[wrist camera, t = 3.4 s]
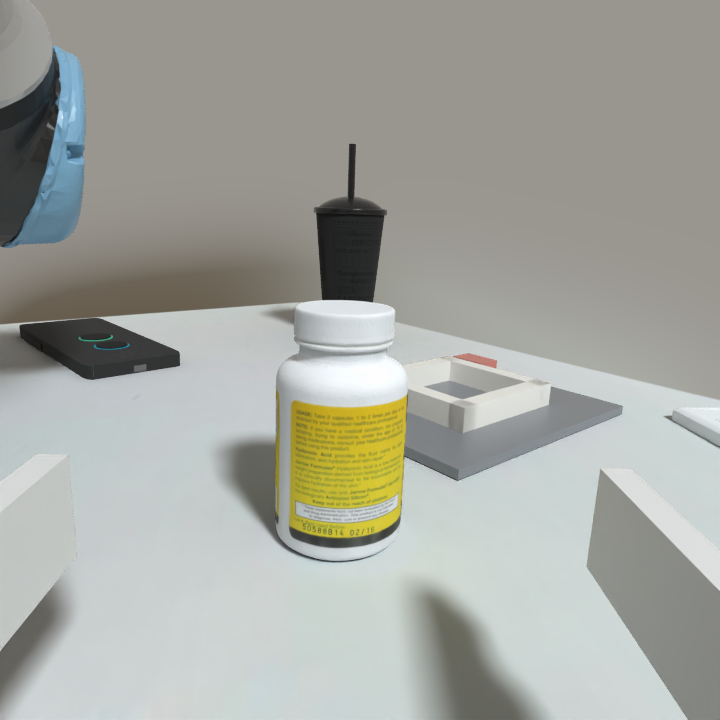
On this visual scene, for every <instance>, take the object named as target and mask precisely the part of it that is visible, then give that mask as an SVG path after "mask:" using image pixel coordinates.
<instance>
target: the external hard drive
mask: <svg viewBox="0 0 720 720" xmlns="http://www.w3.org/2000/svg"><path fill="white" fill-rule="evenodd" d="M672 420H673V421H675V422H677V423H678V424H680V425H682V426H684V427H685V428H687V429H689V430H691V431H692V432H694V433H696V434H698V435H700V436H701V437H703V438H705V439H707V440H709V441H710V442H712V443H714V444H716V445H717V446H719V447H720V407H681V408H677V409H674V410H673V415H672Z"/></svg>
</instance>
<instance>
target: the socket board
mask: <svg viewBox="0 0 720 720" xmlns="http://www.w3.org/2000/svg"><path fill="white" fill-rule="evenodd" d="M496 364H497V360H493V359H489V358H485V357H481V356H477V355H473V354H469V353H468V354H463V355H458V356H453V357H451V356H447V357H441V358H436V359H431V360H426V361H421V362H416V363H411V364H406V365H401V366H402V367H403V368H404V370H405V372H406V374H407V378H408V406H407V419H406V435H405V454H404V456H406V457H408V458H410V459H413V460H415V461H417V462H419V463H421V464H423V465H426V466H428V467H430V468H432V469H434V470H436V471H439V472H441V473H443V474H445V475H447V476H449V477H452V478H454V479H456V480H460V479H463V478H465V477H468V476H470V475H473V474H475V473H477V472H480V471H482V470H485V469H487V468H490V467H492V466H495V465H497V464H500V463H502V462H505V461H507V460H509V459H512V458H514V457H517V456H519V455H522V454H524V453H527V452H529V451H532V450H534V449H537V448H539V447H541V446H544V445H546V444H549V443H551V442H554V441H556V440H559V439H561V438H564V437H566V436H569V435H571V434H573V433H576V432H578V431H581V430H583V429H586V428H588V427H591V426H593V425H596V424H598V423H601V422H603V421H606V420H608V419H610V418H613V417H615V416H618V415H620V414H622V408H623V406H621V405H617V404H614V403H610V402H606V401H603V400H599V399H595V398H592V397H588V396H584V395H580V394H577V393H573V392H569V391H566V390H562V389H558V388H555V387H551V383H549V382H545V381H541V380H537V379H534V378H530V377H526V376H522V375H519V374H515V373H511V372H507V371H504V370H500V369H496Z"/></svg>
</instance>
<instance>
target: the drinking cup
mask: <svg viewBox="0 0 720 720" xmlns="http://www.w3.org/2000/svg"><path fill="white" fill-rule="evenodd" d="M355 156H356V144H349V170H348V197H340V198H335V199H332V200H329V201H327V202H325V203H323V204H322V205H320V206H319V207H315V208H314V213H316V215H317V229H318V245H319V259H320V274H321V289H322V300H352V301H364V302H372V303H373V297H374V290H375V283H376V275H377V268H378V260H379V252H380V245H381V237H382V230H383V222H384V215H387V210H385V209H382V208H381V207H380V206H378V205H377V204H375V203H373V202H371V201H369V200H366V199H363V198H359V197H354V188H355V186H354V185H355Z"/></svg>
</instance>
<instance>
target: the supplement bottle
mask: <svg viewBox="0 0 720 720" xmlns="http://www.w3.org/2000/svg"><path fill="white" fill-rule="evenodd" d="M394 326H395V310H394V309H393V308H392V307H390V306H387V305H384V304H378V303H372V302H364V301H352V300H321V301H311V302H305V303H301V304H298V305H296V306H295V314H294V335H295V337H294V340H295V342H296V343H297V344H299V345H300V351H299V354H296V355H293V356H291V357H289V358H288V359H287V360H285V361H284V362H283V363H282V365H281V366H280V368H279V370H278V372H277V377H276V473H275V522H276V530H277V533H278V535H279V537H280V538H281V540H282V541H283V542H284V543H285V544H286V545H287V546H289V547H290V548H292V549H293V550H295V551H297V552H299V553H301V554H304V555H307V556H310V557H313V558H317V559H322V560H329V561H346V560H355V559H360V558H364V557H368V556H371V555H374V554H376V553H378V552H380V551H382V550H383V549H385V548H386V547H388V546H389V545H390V544H391V543H392V542H393V541H394V540H395V538H396V537H397V535H398V532H399V528H400V519H401V505H402V488H403V470H404V454H405V435H406V419H407V406H408V378H407V374H406V372H405V370H404V368H403V367H402V366H401V365H400V363H398V362H397V361H396V360H394V359H392V358H390V357H388V355H387V348H388V347H390V346H392V344H393V340H392V339H393V338H394V336H395V333H394Z"/></svg>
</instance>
